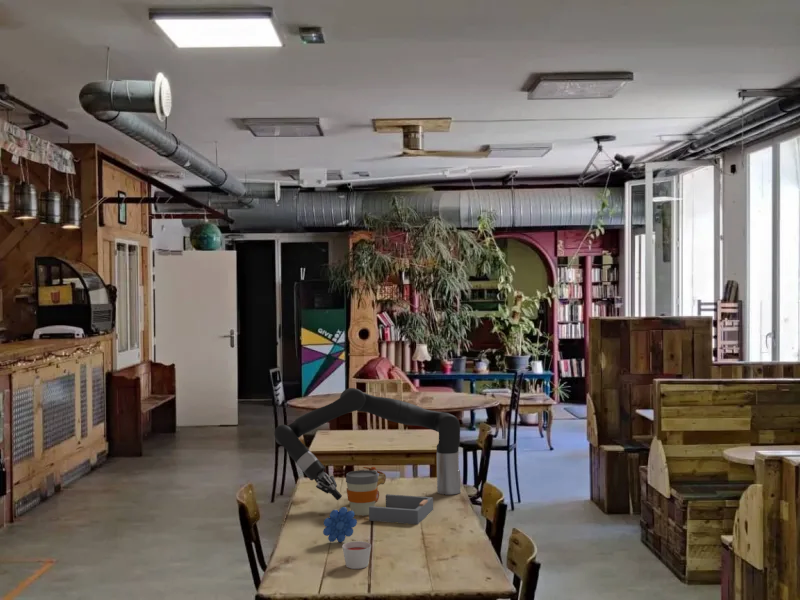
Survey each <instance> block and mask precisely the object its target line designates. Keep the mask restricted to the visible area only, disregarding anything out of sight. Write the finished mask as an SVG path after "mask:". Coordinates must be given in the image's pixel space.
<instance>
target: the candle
mask: <svg viewBox="0 0 800 600" xmlns="http://www.w3.org/2000/svg"><path fill="white" fill-rule="evenodd" d="M341 546H342V547H341V548H342V552H343V557H344V562H345V563H344V564H345V567H347V568H348V569H352V570H360V569H364V568H367V567H368V565H369V562H370V557H371V556H370V555H371V549H372V544H371V543H369V542H367V541H362V540H361V541H360V540H359V541H358V540H357V541H356V540H354V541H347V542H345V543H343V544H342V545H341Z"/></svg>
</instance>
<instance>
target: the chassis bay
mask: <svg viewBox="0 0 800 600" xmlns="http://www.w3.org/2000/svg"><path fill="white" fill-rule="evenodd" d="M432 510H433V511H434V497H431V496H419V495H417V496H416V495H404V494H402V495H401V494H388V493H387V494H386V495H385V506H376V505H375V506H370V507H369V515H368V520H369V521H370V522H371V521H372V522H383V523H384V522H385V523H394V522H398V524H406V523H408V524H409V525H410V524H411V525H419V524H420V523H421V522H423V520H425V519H426V518H427V515H428V514H429V513H430V512H431V511H432ZM433 511H432V512H433ZM432 512H431V513H432ZM431 513H430V514H431ZM430 514H429V515H430ZM429 515H428V516H429Z"/></svg>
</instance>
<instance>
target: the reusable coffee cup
mask: <svg viewBox="0 0 800 600" xmlns="http://www.w3.org/2000/svg"><path fill="white" fill-rule="evenodd" d="M378 476H379V474H378V473H377V472H375V471H369V469H367V470H363V469H361V470H359V469H358V470H352V471H348V472H347V473H346V474H345V483H346V487H347V488H346V495H347V501H349V502H348V503H349V508H350V511H354V513H355V515H354V516H359V515H362V517H363V516H369V507H370V506H375V507H376V502H375V500H376V499H377V490H378V486H377V482H378Z"/></svg>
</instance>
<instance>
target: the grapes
mask: <svg viewBox="0 0 800 600" xmlns="http://www.w3.org/2000/svg"><path fill="white" fill-rule="evenodd" d="M355 516H356V515H355V513H354V511H351V510H348V509H347V507H345V506H342V507H340V508H339V510H338V509H332V510H331V511H330V513H329V517H326V518H325V519H324V520H323V525H324V528H323V531H322V534H323V535H324V536H325V537H327V536H328V537H327V539H328V541H329V543H330V542H331V543H334V542H335V541H336V540H337V542H338V543H343V542H344V541H345V540H346V537H351V536H352V535H353V534H354V528H355V527H356V526H357V525H358V520H357V519H356V518H354V517H355Z"/></svg>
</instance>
